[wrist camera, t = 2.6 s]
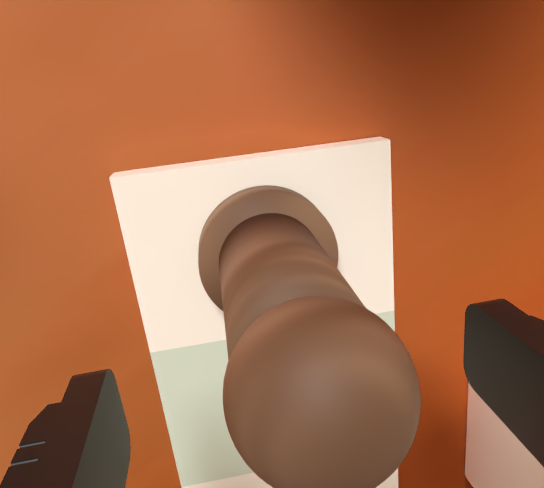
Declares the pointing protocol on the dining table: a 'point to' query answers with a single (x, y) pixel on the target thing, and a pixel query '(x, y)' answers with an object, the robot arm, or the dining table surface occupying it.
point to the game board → (196, 303)
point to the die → (496, 451)
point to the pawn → (303, 349)
